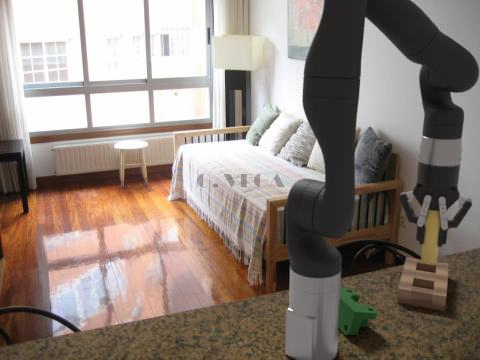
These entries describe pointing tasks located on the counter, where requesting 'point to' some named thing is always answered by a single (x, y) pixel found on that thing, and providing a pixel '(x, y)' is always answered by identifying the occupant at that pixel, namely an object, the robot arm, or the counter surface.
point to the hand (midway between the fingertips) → (430, 243)
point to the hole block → (423, 284)
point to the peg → (431, 237)
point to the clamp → (353, 312)
